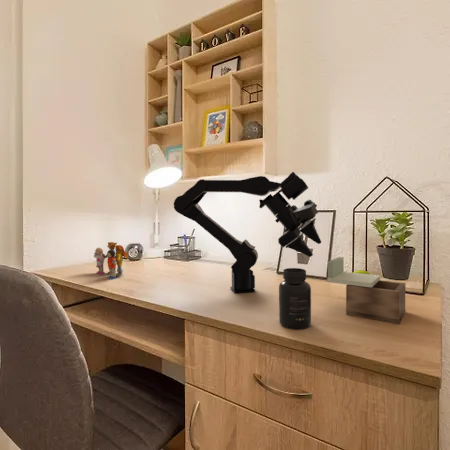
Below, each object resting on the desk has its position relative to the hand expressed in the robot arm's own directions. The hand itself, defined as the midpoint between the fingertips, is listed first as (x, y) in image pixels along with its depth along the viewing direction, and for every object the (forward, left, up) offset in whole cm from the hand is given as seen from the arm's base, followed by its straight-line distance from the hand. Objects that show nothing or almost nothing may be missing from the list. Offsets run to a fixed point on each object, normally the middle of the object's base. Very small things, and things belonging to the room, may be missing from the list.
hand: (316, 249), depth 91 cm
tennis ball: (+13, -3, -13) cm, 19 cm away
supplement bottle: (-18, -22, -13) cm, 32 cm away
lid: (+1, -17, -6) cm, 18 cm away
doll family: (-65, +48, -13) cm, 82 cm away
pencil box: (+4, -21, -13) cm, 25 cm away
